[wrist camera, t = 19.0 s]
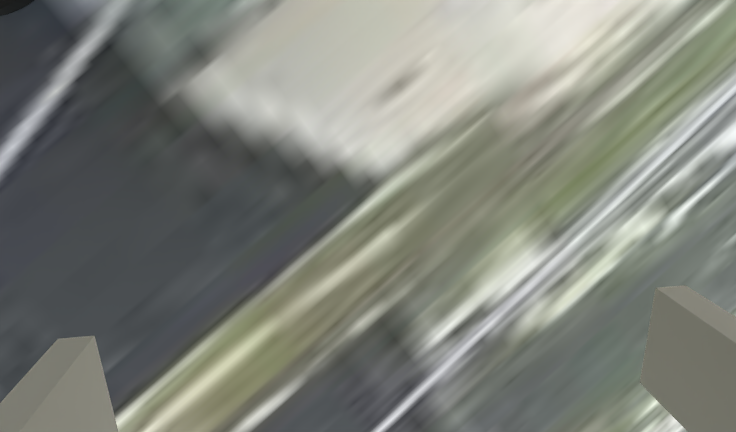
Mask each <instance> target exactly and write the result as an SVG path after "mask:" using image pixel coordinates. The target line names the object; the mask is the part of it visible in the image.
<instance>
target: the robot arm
mask: <svg viewBox="0 0 736 432" xmlns="http://www.w3.org/2000/svg"><path fill="white" fill-rule="evenodd" d="M32 1H34V0H0V16H1V15H5V14H9V13H11V12H14V11H16V10H19V9H21V8H23V7H24V6H26V5H28V4H29V3H31V2H32ZM640 383H641V384H642V385H643V386H644V387H645V388H646V390H647V391H648V392H649V393H650V394H651V395H652V396H653V397H654V398H655V399H656V400H657V401H658V402H659V403H660V404H661V405H662V406H663V407H664V408H665V409H666V410H667V411H668V412H669V413H670V414H671V415H672V416H673V417H674V418H675V419H676V420H677V421H678V422H679V423H680V424H681V425H682V426H683V427H684V428H685V429H686V430H687V431H688V432H736V317H735V316H733V315H732V314H730V313H728V312H727V311H725V310H724V309H722V308H720V307H719V306H717V305H716V304H714V303H713V302H711V301H709V300H708V299H706V298H705V297H703V296H701V295H700V294H698V293H697V292H695V291H693V290H692V289H690V288H689V287H687V286H685V285H684V286H672V287H661V288H656V289H655V295H654V301H653V307H652V313H651V319H650V325H649V331H648V337H647V343H646V349H645V355H644V361H643V367H642V373H641V379H640ZM0 432H118V429H117V425H116V421H115V417H114V412H113V408H112V404H111V400H110V396H109V392H108V388H107V384H106V380H105V376H104V372H103V368H102V364H101V360H100V356H99V352H98V348H97V344H96V340H95V336H85V337H74V338H62V339H57V341H56V342H55V343H54V344H53V345H52V346H51V347H50V348H49V349H48V351H47V352H46V353H45V354H44V355H43V356H42V357H41V358H40V359H39V361H38V362H37V363H36V364H35V365H34V366H33V367H32V368H31V369H30V371H29V372H28V373H27V374H26V375H25V376H24V377H23V378H22V379H21V381H20V382H19V383H18V384H17V385H16V386H15V387H14V388H13V389H12V391H11V392H10V393H9V394H8V395H7V396H6V397H5V398H4V399H3V401H2V402H1V403H0Z"/></svg>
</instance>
